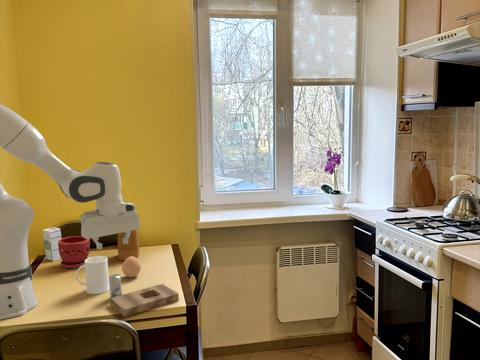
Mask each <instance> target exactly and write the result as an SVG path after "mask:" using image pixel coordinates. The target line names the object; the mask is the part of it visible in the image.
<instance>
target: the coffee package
mask: <svg viewBox="0 0 480 360" xmlns="http://www.w3.org/2000/svg"><path fill="white" fill-rule="evenodd" d="M125 235H126V233H125V232H122V233H117V256H118V259H119V261H125V259H126V258H128V257H130V256H133V257H135V258H137V259H138V258H139V254H140V238H139V234H138V229H137V230H132V231H131V234H130V236H129V238H128V243H127V244H123V240H122V239H123V238H125Z"/></svg>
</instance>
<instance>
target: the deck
mask: <svg viewBox="0 0 480 360" xmlns="http://www.w3.org/2000/svg"><path fill="white" fill-rule="evenodd" d="M179 298H180V297H179V293H178V292H177V291H176V290H174V289H172V288H170V287H169V286H166V285H165V284H164V283H161V284H157V285H153V286H149V287H145V288H142V289H139V290H136V291H135V290H134V291H132V292H128V293H123V294H122V295H120V296H117V297H113V298H110V299H109V300H110V306H111V307H113V309H114V310H116V311H117V312H118V313H119V314H120V315H121V316H122V317H124V318H126V317H129V316H133V315H136V314H139V313H142V312H145V311H148V310H153V309H155V308H158V307H162V306H165V305H167V304H171V303H174V302H178V301H179Z"/></svg>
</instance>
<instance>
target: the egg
mask: <svg viewBox="0 0 480 360" xmlns="http://www.w3.org/2000/svg"><path fill="white" fill-rule="evenodd" d="M141 268H142V267H141V263H140V260H139V259H138V258H135V257H133V256H130V257H128V258H126V259H125V260H123V261H122V265H121V270H122V273H123V274H124V275H125V276H126V277H127V278H135V277H137V276H138V275H139V274H140V272H141Z"/></svg>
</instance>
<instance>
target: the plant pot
mask: <svg viewBox="0 0 480 360" xmlns="http://www.w3.org/2000/svg"><path fill="white" fill-rule="evenodd" d="M90 240H91V239H85V238H84V237H83V236H82V235H77V236H75V235H74V236H67V237H63V238H62V237H61V239H60V240H59V241H58V248H59V254H60V257H61V259H60V260H62V261H60V265H61V267H63V268H65V269H78V268H79V267H80V266H82V265H84V264H85V260H86V259H87V258H89V257H88V256H89V254H90V249H91V248H90V246H91V243H90Z"/></svg>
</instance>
